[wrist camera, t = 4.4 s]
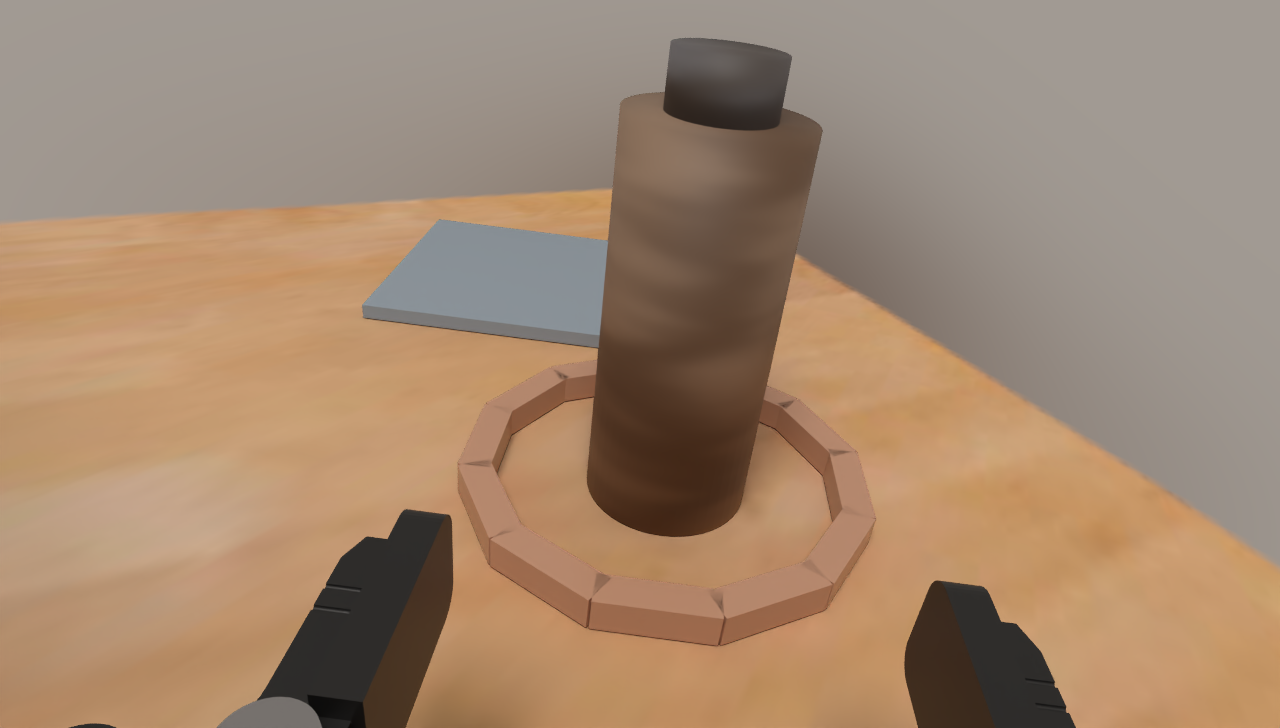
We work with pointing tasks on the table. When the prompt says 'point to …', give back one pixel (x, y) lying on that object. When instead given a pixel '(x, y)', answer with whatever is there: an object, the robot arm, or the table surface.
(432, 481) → the table surface
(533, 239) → the mat
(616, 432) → the pepper mill
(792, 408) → the pinkish tan segmented ring
